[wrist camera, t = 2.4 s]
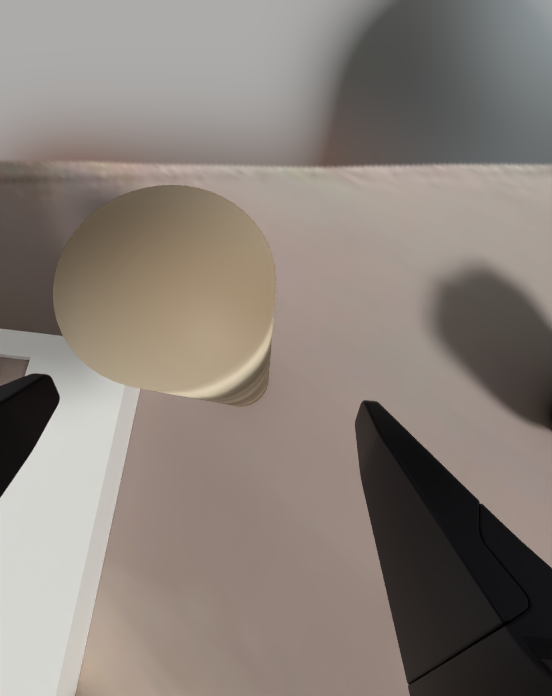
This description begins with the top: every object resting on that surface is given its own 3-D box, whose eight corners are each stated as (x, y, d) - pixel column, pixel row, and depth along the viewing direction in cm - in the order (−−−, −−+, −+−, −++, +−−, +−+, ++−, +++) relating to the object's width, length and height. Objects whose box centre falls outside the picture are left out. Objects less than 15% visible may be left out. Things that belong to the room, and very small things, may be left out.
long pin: (264, 409, 18) (261, 403, 4) (209, 402, 18) (24, 375, 4) (271, 355, 19) (287, 198, 5) (218, 348, 19) (85, 173, 5)
